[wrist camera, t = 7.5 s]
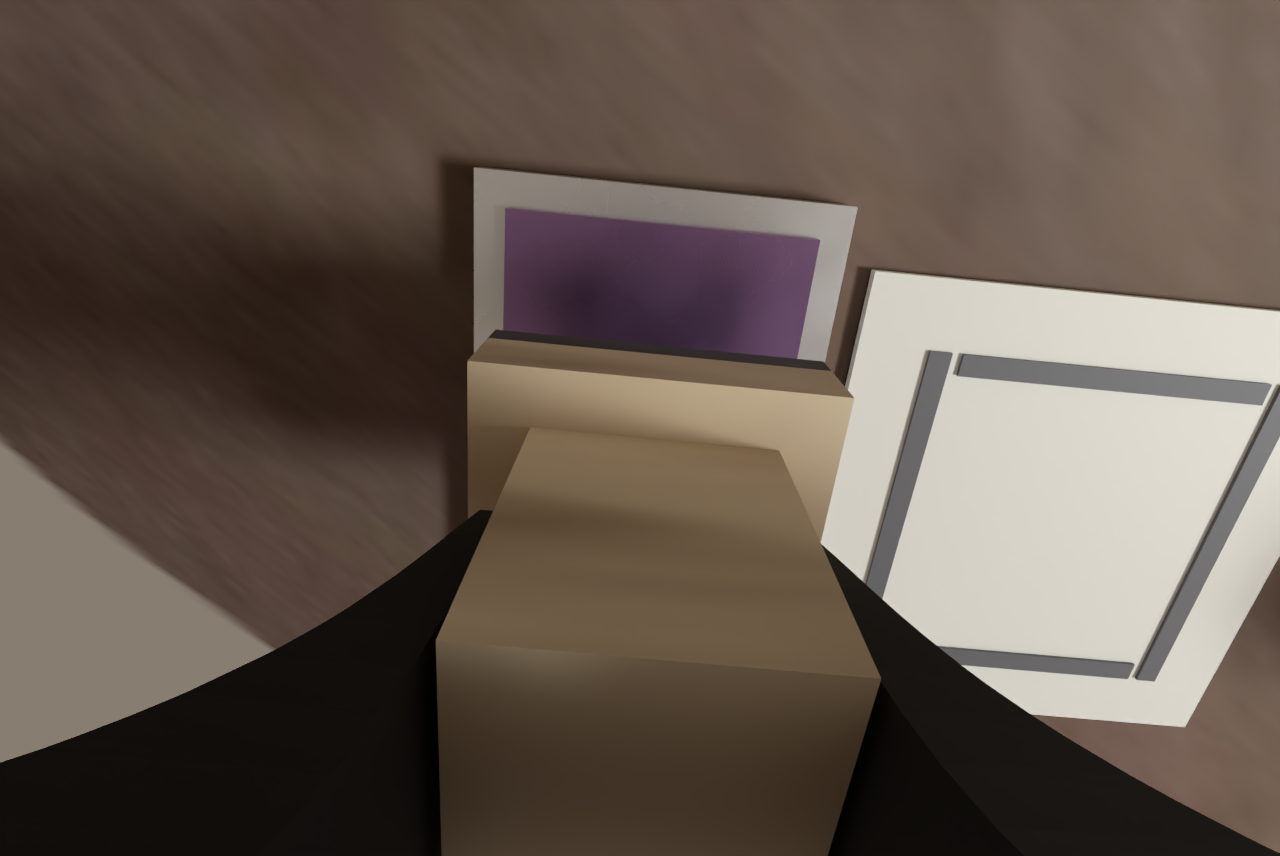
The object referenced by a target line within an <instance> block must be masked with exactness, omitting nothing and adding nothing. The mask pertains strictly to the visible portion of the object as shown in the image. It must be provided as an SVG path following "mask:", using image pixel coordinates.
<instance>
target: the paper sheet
mask: <svg viewBox="0 0 1280 856" xmlns="http://www.w3.org/2000/svg"><path fill="white" fill-rule="evenodd" d="M845 388H846V389H847V390H848V391H849V392H850V393H851V395H852V396H853V397H854V402H853V407H852V411H851V415H850V420H849V424H848V428H847V432H846V437H845V441H844V445H843V449H842V454H841V458H840V462H839V467H838V471H837V475H836V479H835V484H834V488H833V492H832V496H831V501H830V505H829V509H828V513H827V518H826V522H825V526H824V531H823V535H822V539H821V544H822V545H823V546H824V547H825V548H826V549H828V550H829V551H830V552H831V553H832V554H833V555H834V556H836V557H837V558H838V559H839V560H840V561H841V562H842V563H843V564H844V565H845V566H846V567H848V568H849V569H850V570H851V571H852V572H853V573H854V574H855V575H856V576H857V577H858V578H859V579H861V580H862V581H863V582H864V583H865V584H866V585H867V586H868V587H869V588H870V589H871V590H873V591H874V592H875V593H876V594H877V595H878V596H879V597H880V598H881V599H883V600H884V601H885V602H886V603H887V604H888V605H889V606H890V607H892V608H893V609H894V610H895V611H896V612H897V613H898V614H899V615H901V616H902V617H903V618H904V619H905V620H906V621H908V622H909V623H910V624H911V625H912V626H913V627H915V628H916V629H917V630H918V631H919V632H921V633H922V634H923V635H924V636H925V637H927V638H928V639H929V640H930V641H932V642H933V643H934V644H935V645H937V646H938V647H939V648H940V649H942V650H943V651H944V652H945V653H947V654H948V655H949V656H950V657H952V658H953V659H954V660H955V661H957V662H958V663H959V664H960V665H962V666H963V667H964V668H966V669H967V670H968V671H970V672H971V673H972V674H974V675H975V676H976V677H978V678H979V679H980V680H982V681H983V682H985V683H986V684H987V685H989V686H990V687H992V688H993V689H995V690H996V691H997V692H999V693H1000V694H1002V695H1003V696H1005V697H1006V698H1008V699H1009V700H1010V701H1012V702H1013V703H1015V704H1016V705H1018V706H1019V707H1021V708H1022V709H1024V710H1025V711H1026V712H1028V713H1029V714H1034V715H1046V716H1058V717H1070V718H1082V719H1094V720H1106V721H1118V722H1130V723H1142V724H1155V725H1167V726H1179V727H1185V726H1186V724H1187V722H1188V721H1189V719H1190V717H1191V715H1192V713H1193V712H1194V710H1195V708H1196V706H1197V704H1198V702H1199V701H1200V699H1201V697H1202V695H1203V693H1204V692H1205V690H1206V688H1207V686H1208V684H1209V683H1210V681H1211V679H1212V677H1213V675H1214V674H1215V672H1216V670H1217V668H1218V666H1219V664H1220V663H1221V661H1222V659H1223V657H1224V655H1225V654H1226V652H1227V650H1228V648H1229V646H1230V645H1231V643H1232V641H1233V639H1234V637H1235V636H1236V634H1237V632H1238V630H1239V628H1240V627H1241V625H1242V623H1243V621H1244V619H1245V617H1246V616H1247V614H1248V612H1249V610H1250V608H1251V607H1252V605H1253V603H1254V601H1255V599H1256V598H1257V596H1258V594H1259V592H1260V590H1261V589H1262V587H1263V585H1264V583H1265V581H1266V580H1267V578H1268V576H1269V574H1270V572H1271V570H1272V569H1273V567H1274V565H1275V563H1276V561H1277V560H1278V558H1279V556H1280V310H1273V309H1263V308H1253V307H1243V306H1233V305H1223V304H1213V303H1203V302H1193V301H1183V300H1174V299H1164V298H1154V297H1144V296H1134V295H1124V294H1114V293H1104V292H1094V291H1084V290H1074V289H1064V288H1054V287H1044V286H1034V285H1024V284H1014V283H1004V282H995V281H985V280H975V279H965V278H955V277H945V276H935V275H925V274H915V273H905V272H895V271H885V270H875V269H872V270H871V274H870V278H869V283H868V287H867V292H866V296H865V300H864V305H863V309H862V314H861V318H860V322H859V327H858V331H857V336H856V340H855V344H854V349H853V353H852V358H851V362H850V366H849V371H848V375H847V380H846V384H845Z"/></svg>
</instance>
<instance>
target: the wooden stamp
mask: <svg viewBox="0 0 1280 856" xmlns="http://www.w3.org/2000/svg"><path fill="white" fill-rule="evenodd" d="M853 402H854V397H853V396H852V395H851V393H850V392H849V391H848V390H847V389H846V388H845V386H844V385H843V384H842V383H841V382H840V381H839V379H838V378H837V377H836V376H835V375H834V374H833V372H832V371H831V370H830V369H829V368H828V367H827V365H826V364H825V363H824V362H823V361H814V360H804V359H794V358H784V357H773V356H763V355H753V354H742V353H732V352H722V351H712V350H701V349H691V348H681V347H671V346H660V345H650V344H640V343H629V342H619V341H609V340H599V339H588V338H578V337H568V336H557V335H547V334H537V333H527V332H516V331H506V330H495V331H494V332H493V333H492V334H491V335H490V336H489V337H488V338H487V340H486V341H485V342H484V343H483V344H482V345H481V346H480V347H479V348H478V350H477V351H476V352H475V353H474V354H473V355H472V356H471V357H470V358H469V359H468V361H467V420H468V519H469V518H470V517H471V516H472V515H474V514H475V513H476V512H478V511H479V510H491V511H493V513H492V515H491V517H490V519H489V522H488V524H487V526H486V528H485V531H484V533H483V535H482V537H481V540H480V542H479V544H478V546H477V549H476V551H475V553H474V555H473V558H472V560H471V562H470V564H469V567H468V569H467V571H466V573H465V576H464V578H463V580H462V582H461V585H460V587H459V589H458V591H457V594H456V596H455V598H454V600H453V603H452V605H451V607H450V609H449V612H448V614H447V616H446V618H445V621H444V623H443V625H442V627H441V630H440V632H439V634H438V636H437V639H436V670H437V706H438V742H439V779H440V815H441V851H442V856H828V853H829V850H830V846H831V843H832V840H833V836H834V833H835V830H836V826H837V823H838V820H839V817H840V813H841V810H842V807H843V803H844V800H845V797H846V793H847V790H848V787H849V784H850V780H851V777H852V774H853V770H854V767H855V764H856V760H857V757H858V754H859V751H860V747H861V744H862V741H863V737H864V734H865V731H866V727H867V724H868V721H869V718H870V714H871V711H872V708H873V704H874V701H875V698H876V694H877V691H878V688H879V685H880V681H881V677H880V675H879V673H878V670H877V668H876V666H875V664H874V661H873V659H872V657H871V655H870V652H869V650H868V648H867V646H866V643H865V641H864V639H863V637H862V634H861V632H860V630H859V628H858V626H857V623H856V621H855V619H854V617H853V614H852V612H851V610H850V608H849V605H848V603H847V601H846V599H845V596H844V594H843V592H842V590H841V587H840V585H839V583H838V581H837V578H836V576H835V574H834V572H833V570H832V567H831V565H830V563H829V561H828V558H827V556H826V554H825V552H824V549H823V547H822V545H821V539H822V535H823V531H824V526H825V522H826V518H827V513H828V509H829V505H830V501H831V496H832V492H833V488H834V484H835V479H836V475H837V471H838V467H839V462H840V458H841V454H842V449H843V445H844V441H845V437H846V432H847V428H848V424H849V420H850V415H851V411H852V407H853Z"/></svg>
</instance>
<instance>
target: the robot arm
mask: <svg viewBox="0 0 1280 856" xmlns="http://www.w3.org/2000/svg"><path fill="white" fill-rule="evenodd" d="M492 513H493V511H491V510H479V511H478V512H476V513H475V514H474V515H472V516H471V517H470V518H469V519H467V520H466V521H465V522H463V523H462V524H461V525H460V526H458V527H457V528H456V529H455V530H453V531H452V532H451V533H450V534H448V535H447V536H446V537H445V538H443V539H442V540H441V541H440V542H438V543H437V544H436V545H435V546H433V547H432V548H431V549H430V550H428V551H427V552H426V553H425V554H423V555H422V556H421V557H419V558H418V559H417V560H415V561H414V562H413V563H411V564H410V565H409V566H407V567H406V568H405V569H404V570H402V571H401V572H400V573H398V574H397V575H396V576H394V577H393V578H391V579H390V580H388V581H387V582H385V583H384V584H382V585H381V586H379V587H378V588H376V589H375V590H374V591H372V592H371V593H369V594H368V595H366V596H365V597H363V598H362V599H360V600H359V601H357V602H356V603H355V604H353V605H352V606H350V607H349V608H347V609H345V610H344V611H342V612H341V613H339V614H337V615H336V616H334V617H332V618H331V619H329V620H327V621H326V622H324V623H322V624H321V625H319V626H317V627H316V628H314V629H312V630H310V631H308V632H307V633H305V634H303V635H301V636H299V637H298V638H296V639H294V640H292V641H290V642H289V643H287V644H285V645H283V646H281V647H280V648H278V649H276V650H274V651H272V652H270V653H268V654H266V655H264V656H262V657H260V658H258V659H256V660H254V661H252V662H249V663H247V664H245V665H243V666H241V667H239V668H237V669H235V670H233V671H231V672H228V673H226V674H224V675H222V676H220V677H218V678H216V679H214V680H212V681H209V682H207V683H205V684H203V685H201V686H199V687H197V688H195V689H193V690H191V691H188V692H186V693H184V694H181V695H179V696H177V697H174V698H172V699H170V700H168V701H165V702H162V703H160V704H158V705H155V706H153V707H150V708H148V709H146V710H143V711H141V712H138V713H136V714H133V715H131V716H128V717H126V718H123V719H121V720H118V721H116V722H113V723H110V724H108V725H105V726H102V727H100V728H97V729H95V730H92V731H89V732H87V733H84V734H82V735H79V736H76V737H74V738H71V739H68V740H65V741H63V742H60V743H57V744H54V745H52V746H49V747H46V748H43V749H40V750H37V751H34V752H32V753H28V754H26V755H22V756H19V757H16V758H13V759H10V760H7V761H4V762H2V763H0V856H442V851H441V815H440V779H439V742H438V706H437V670H436V639H437V636H438V634H439V632H440V630H441V627H442V625H443V623H444V621H445V618H446V616H447V614H448V612H449V609H450V607H451V605H452V603H453V600H454V598H455V596H456V594H457V591H458V589H459V587H460V585H461V582H462V580H463V578H464V576H465V573H466V571H467V569H468V567H469V564H470V562H471V560H472V558H473V555H474V553H475V551H476V549H477V546H478V544H479V542H480V540H481V537H482V535H483V533H484V531H485V528H486V526H487V524H488V522H489V519H490V517H491V515H492ZM821 545H822V544H821ZM822 547H823V549H824V552H825V554H826V556H827V558H828V561H829V563H830V565H831V567H832V570H833V572H834V574H835V576H836V578H837V581H838V583H839V585H840V587H841V590H842V592H843V594H844V596H845V599H846V601H847V603H848V605H849V608H850V610H851V612H852V614H853V617H854V619H855V621H856V623H857V626H858V628H859V630H860V632H861V634H862V637H863V639H864V641H865V643H866V646H867V648H868V650H869V652H870V655H871V657H872V659H873V661H874V664H875V666H876V668H877V670H878V673H879V675H880V677H881V681H880V685H879V688H878V691H877V694H876V698H875V701H874V704H873V708H872V711H871V714H870V718H869V721H868V724H867V727H866V731H865V734H864V737H863V741H862V744H861V747H860V751H859V754H858V757H857V760H856V764H855V767H854V770H853V774H852V777H851V780H850V784H849V787H848V790H847V793H846V797H845V800H844V803H843V807H842V810H841V813H840V817H839V820H838V823H837V826H836V830H835V833H834V836H833V840H832V843H831V846H830V850H829V853H828V856H1280V853H1278V852H1276V851H1273V850H1271V849H1269V848H1267V847H1265V846H1263V845H1261V844H1259V843H1257V842H1255V841H1253V840H1251V839H1249V838H1247V837H1245V836H1243V835H1241V834H1239V833H1237V832H1235V831H1233V830H1231V829H1229V828H1228V827H1226V826H1224V825H1222V824H1220V823H1218V822H1216V821H1214V820H1212V819H1210V818H1208V817H1206V816H1204V815H1202V814H1200V813H1199V812H1197V811H1195V810H1193V809H1191V808H1189V807H1187V806H1185V805H1183V804H1181V803H1179V802H1177V801H1175V800H1174V799H1172V798H1170V797H1168V796H1166V795H1165V794H1163V793H1161V792H1159V791H1157V790H1156V789H1154V788H1152V787H1150V786H1148V785H1146V784H1145V783H1143V782H1141V781H1139V780H1137V779H1136V778H1134V777H1132V776H1130V775H1128V774H1127V773H1125V772H1123V771H1122V770H1120V769H1118V768H1117V767H1115V766H1113V765H1112V764H1110V763H1108V762H1107V761H1105V760H1103V759H1102V758H1100V757H1098V756H1096V755H1095V754H1093V753H1091V752H1090V751H1088V750H1086V749H1085V748H1083V747H1081V746H1080V745H1078V744H1076V743H1075V742H1073V741H1071V740H1070V739H1068V738H1066V737H1065V736H1063V735H1062V734H1060V733H1059V732H1057V731H1055V730H1054V729H1052V728H1051V727H1049V726H1048V725H1046V724H1044V723H1043V722H1041V721H1040V720H1038V719H1037V718H1035V717H1034V716H1032V715H1031V714H1029V713H1028V712H1026V711H1025V710H1024V709H1022V708H1021V707H1019V706H1018V705H1016V704H1015V703H1013V702H1012V701H1010V700H1009V699H1008V698H1006V697H1005V696H1003V695H1002V694H1000V693H999V692H997V691H996V690H995V689H993V688H992V687H990V686H989V685H987V684H986V683H985V682H983V681H982V680H980V679H979V678H978V677H976V676H975V675H974V674H972V673H971V672H970V671H968V670H967V669H966V668H964V667H963V666H962V665H960V664H959V663H958V662H957V661H955V660H954V659H953V658H952V657H950V656H949V655H948V654H947V653H945V652H944V651H943V650H942V649H940V648H939V647H938V646H937V645H935V644H934V643H933V642H932V641H930V640H929V639H928V638H927V637H925V636H924V635H923V634H922V633H921V632H919V631H918V630H917V629H916V628H915V627H913V626H912V625H911V624H910V623H909V622H908V621H906V620H905V619H904V618H903V617H902V616H901V615H899V614H898V613H897V612H896V611H895V610H894V609H893V608H892V607H890V606H889V605H888V604H887V603H886V602H885V601H884V600H883V599H881V598H880V597H879V596H878V595H877V594H876V593H875V592H874V591H873V590H871V589H870V588H869V587H868V586H867V585H866V584H865V583H864V582H863V581H862V580H861V579H859V578H858V577H857V576H856V575H855V574H854V573H853V572H852V571H851V570H850V569H849V568H848V567H846V566H845V565H844V564H843V563H842V562H841V561H840V560H839V559H838V558H837V557H836V556H834V555H833V554H832V553H831V552H830V551H829V550H828V549H826V548H825V547H824V546H823V545H822Z"/></svg>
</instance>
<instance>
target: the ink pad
mask: <svg viewBox="0 0 1280 856" xmlns="http://www.w3.org/2000/svg"><path fill="white" fill-rule="evenodd" d="M857 208H858V207H856V206H851V205H847V204H839V203H830V202H820V201H810V200H800V199H791V198H781V197H771V196H762V195H752V194H742V193H733V192H723V191H713V190H703V189H694V188H684V187H674V186H665V185H655V184H645V183H636V182H626V181H616V180H606V179H597V178H587V177H577V176H568V175H558V174H548V173H539V172H529V171H519V170H509V169H500V168H490V167H474V353H475V352H476V351H477V350H478V348H479V347H480V346H481V345H482V344H483V343H484V342H485V341H486V340H487V338H488V337H489V336H490V335H491V334H492V333H493V332H494V331H495V330H506V331H516V332H527V333H537V334H547V335H557V336H568V337H578V338H588V339H599V340H609V341H619V342H629V343H640V344H650V345H660V346H671V347H681V348H691V349H701V350H712V351H722V352H732V353H742V354H753V355H763V356H773V357H784V358H794V359H804V360H814V361H823V362H824V363H825V359H826V354H827V350H828V345H829V340H830V336H831V331H832V326H833V321H834V317H835V312H836V307H837V303H838V298H839V293H840V288H841V284H842V279H843V274H844V270H845V265H846V260H847V255H848V251H849V246H850V241H851V237H852V232H853V227H854V222H855V218H856V213H857Z"/></svg>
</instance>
